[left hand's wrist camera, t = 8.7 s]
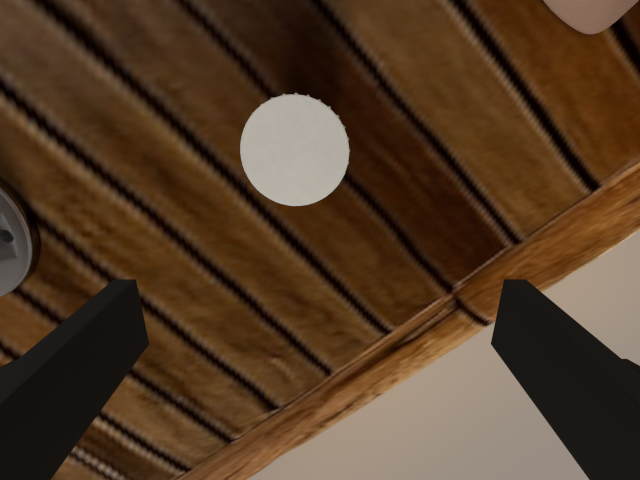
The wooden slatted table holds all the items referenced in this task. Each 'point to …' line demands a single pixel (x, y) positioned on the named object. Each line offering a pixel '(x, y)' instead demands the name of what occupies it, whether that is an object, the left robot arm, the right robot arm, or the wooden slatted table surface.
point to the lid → (294, 149)
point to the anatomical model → (590, 13)
